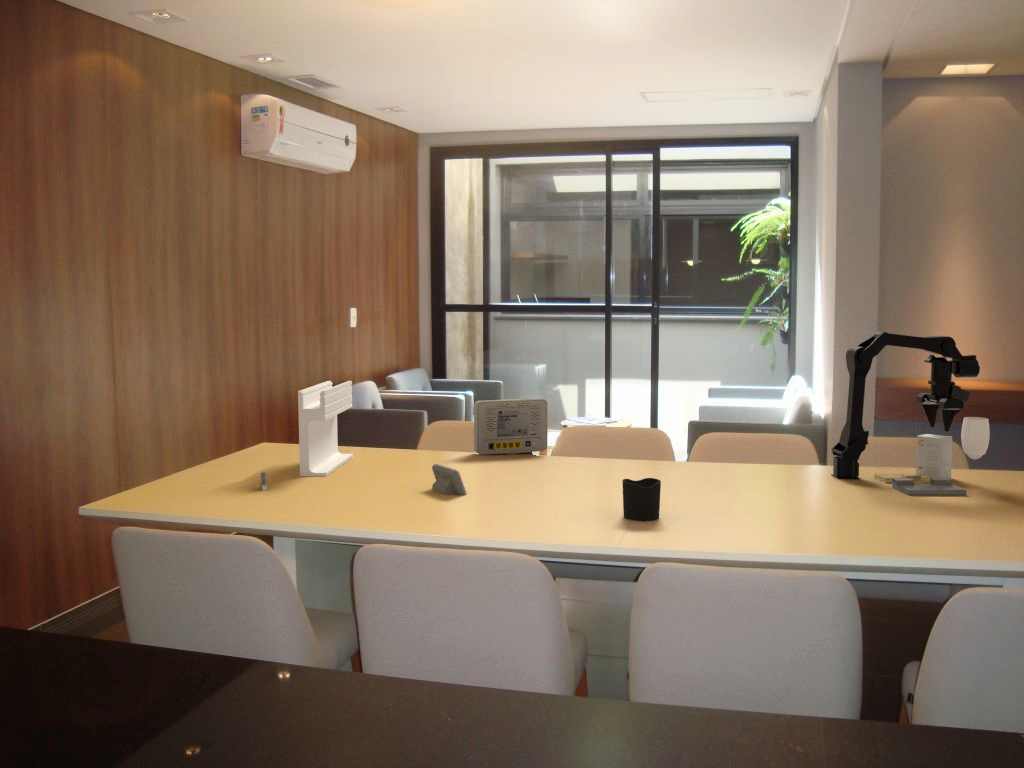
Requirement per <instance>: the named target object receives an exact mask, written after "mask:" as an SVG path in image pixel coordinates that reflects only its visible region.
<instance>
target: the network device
mask: <svg viewBox="0 0 1024 768" xmlns="http://www.w3.org/2000/svg"><path fill="white" fill-rule="evenodd" d="M547 448H548V401H547V400H546V399H543V398H541V397H539V398H537V397H536V398H513V399H512V398H511V399H509V398H508V399H492V400H491V399H490V400H488V399H487V400H477V401H475V402H474V403H473V450H474V452H475V453H477V454H479V455H484V456H485V455H499V454H506V455H516V454H517V453H528V452H529V453H531V452H532V453H533V452H534V453H535V452H545V451H546V450H547Z"/></svg>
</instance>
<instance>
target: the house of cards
mask: <svg viewBox="0 0 1024 768" xmlns="http://www.w3.org/2000/svg"><path fill="white" fill-rule="evenodd" d="M259 488H260V489H261V491H262V492H264V491H268V485H267V474H266V472H265V471H264V472H263V471H262V472H260V484H259ZM252 490H253V491H254V490H258V488H252Z"/></svg>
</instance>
